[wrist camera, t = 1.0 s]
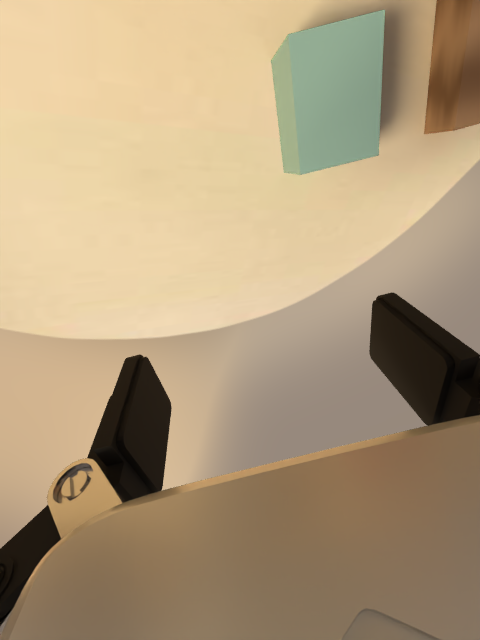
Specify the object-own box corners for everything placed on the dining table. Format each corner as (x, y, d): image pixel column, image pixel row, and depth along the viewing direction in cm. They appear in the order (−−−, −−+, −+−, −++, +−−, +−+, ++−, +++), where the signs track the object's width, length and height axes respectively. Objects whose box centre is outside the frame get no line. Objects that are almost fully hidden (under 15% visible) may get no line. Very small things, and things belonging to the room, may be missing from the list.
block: (270, 61, 24) (288, 34, 19) (347, 41, 24) (384, 9, 19) (283, 172, 29) (300, 174, 24) (347, 156, 29) (378, 155, 24)
